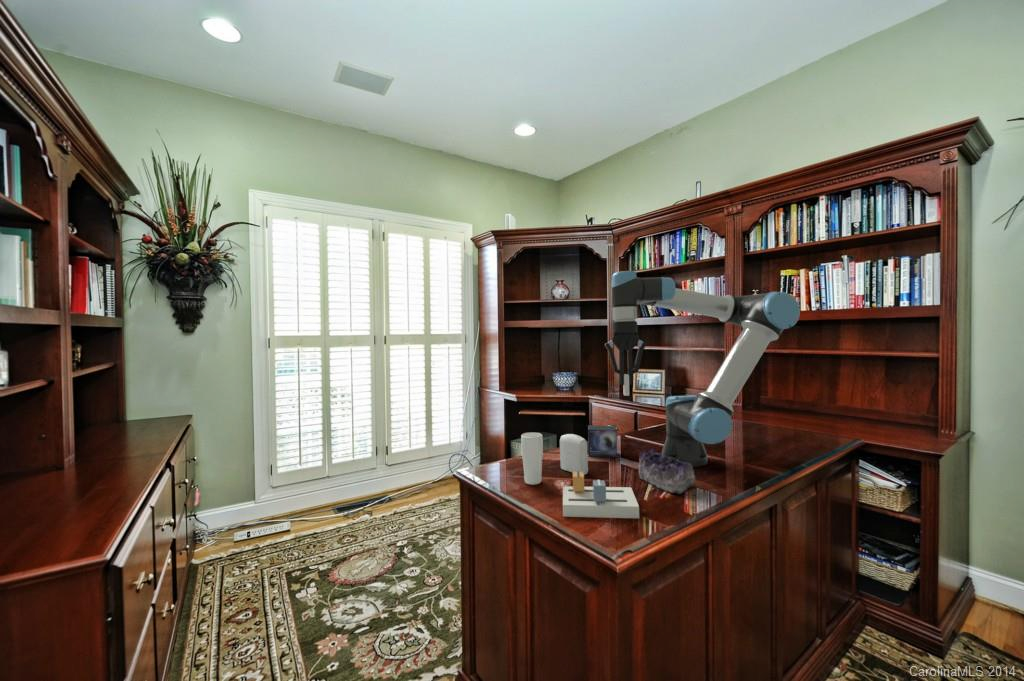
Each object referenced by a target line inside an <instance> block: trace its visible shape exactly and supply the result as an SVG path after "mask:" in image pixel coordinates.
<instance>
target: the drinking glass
mask: <svg viewBox="0 0 1024 681" xmlns="http://www.w3.org/2000/svg"><path fill="white" fill-rule="evenodd" d="M520 437H521V439H520V443H521V444H520V446H521V458H522V465H523V466H522V467H523V474H524V475H523V476H524V479H523V480H524V483H525V484H527V485H530V486H531V485H532V486H534V485H538V484H541V482H542V470H543V451H544V445H543V444H544V442H543V434H542V433H540V432H524V433H522V434H521V435H520Z"/></svg>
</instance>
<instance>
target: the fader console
mask: <svg viewBox="0 0 1024 681" xmlns="http://www.w3.org/2000/svg"><path fill="white" fill-rule="evenodd" d="M634 493H635V492H634V491H633V489H632V487H631V486H630V487H629V486H628V487H626V486H625V487H624V486H606V502H603V501H594V497H593V486H584V492H583V491H573V485H572V486H571V485H570V486H569V485H568V486H565V485H564V486H562V517H567V518H568V517H569V518H570V517H572V518H606V519H608V518H609V519H640V506H639V503H638V501H637V498H636V496H635V494H634Z"/></svg>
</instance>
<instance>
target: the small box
mask: <svg viewBox="0 0 1024 681" xmlns="http://www.w3.org/2000/svg"><path fill="white" fill-rule="evenodd" d="M617 433H618V430H617V426H616V425H587V437H588V438H587V455H588V458H591V457H592V458H593V457H596V458H618V440H617V439H618V434H617Z"/></svg>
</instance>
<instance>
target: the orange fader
mask: <svg viewBox="0 0 1024 681" xmlns="http://www.w3.org/2000/svg"><path fill="white" fill-rule="evenodd" d="M572 486H573V491H583V492H584V487H585V475H584V472H579V471H577V472H572Z"/></svg>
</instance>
